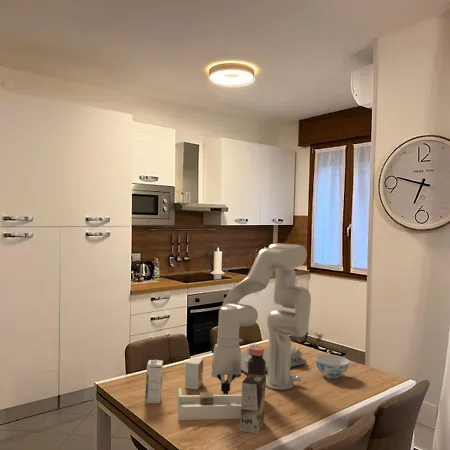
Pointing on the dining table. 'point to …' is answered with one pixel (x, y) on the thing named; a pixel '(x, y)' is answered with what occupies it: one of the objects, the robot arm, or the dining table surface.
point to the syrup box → (154, 381)
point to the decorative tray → (245, 356)
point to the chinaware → (331, 365)
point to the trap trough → (209, 407)
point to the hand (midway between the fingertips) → (225, 393)
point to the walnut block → (206, 398)
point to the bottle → (256, 362)
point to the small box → (194, 373)
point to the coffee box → (253, 403)
